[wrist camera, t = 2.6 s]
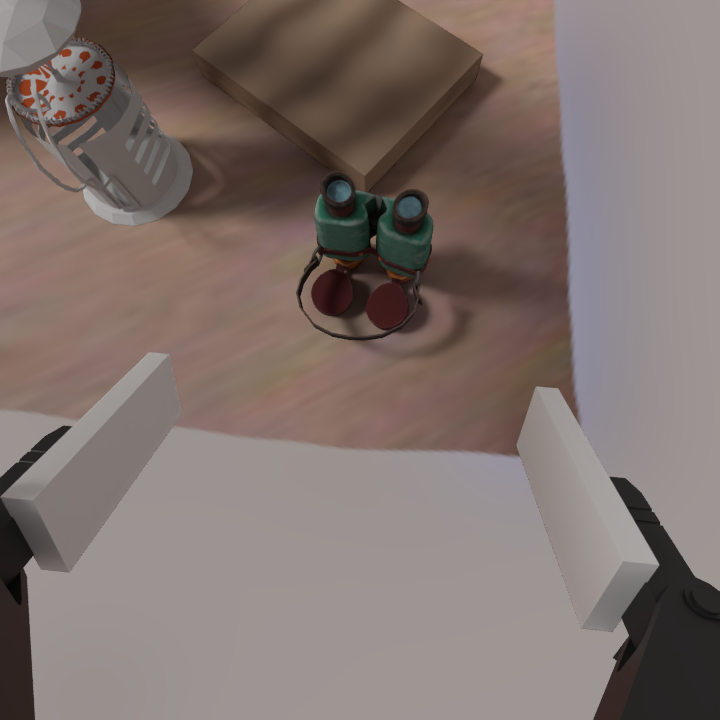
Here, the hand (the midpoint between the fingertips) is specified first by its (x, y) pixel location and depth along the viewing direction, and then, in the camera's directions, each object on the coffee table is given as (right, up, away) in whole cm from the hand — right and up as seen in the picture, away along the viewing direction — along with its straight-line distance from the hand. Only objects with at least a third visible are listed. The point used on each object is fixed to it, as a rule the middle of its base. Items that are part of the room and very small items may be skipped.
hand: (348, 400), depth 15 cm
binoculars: (+1, +7, +19) cm, 20 cm away
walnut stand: (-2, +28, +24) cm, 37 cm away
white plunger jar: (-19, +17, +22) cm, 33 cm away
